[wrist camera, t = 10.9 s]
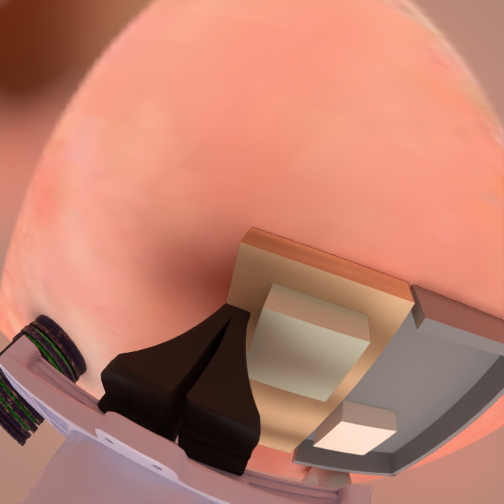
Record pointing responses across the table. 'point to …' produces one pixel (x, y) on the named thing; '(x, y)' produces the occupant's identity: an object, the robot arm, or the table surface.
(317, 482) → the donut
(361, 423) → the cream tile
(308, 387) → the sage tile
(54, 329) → the storage jar
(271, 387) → the oak board
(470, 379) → the box
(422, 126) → the table surface
